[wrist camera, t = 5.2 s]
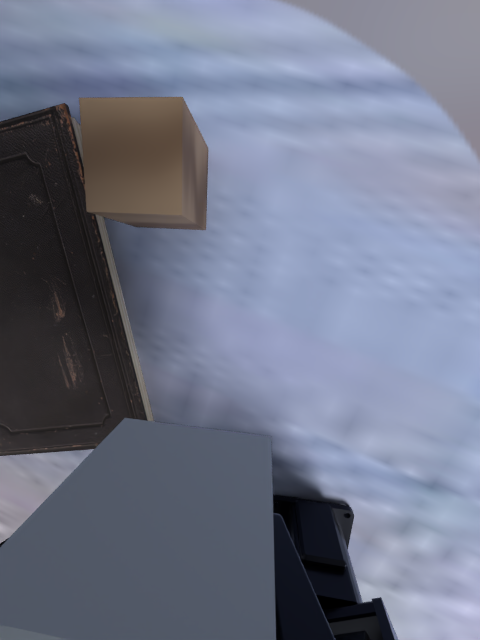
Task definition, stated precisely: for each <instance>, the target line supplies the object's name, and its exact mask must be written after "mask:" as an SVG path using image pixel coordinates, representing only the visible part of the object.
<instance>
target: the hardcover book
mask: <svg viewBox="0 0 480 640" xmlns="http://www.w3.org/2000/svg"><path fill="white" fill-rule="evenodd" d="M124 418H130V419H138V420H146V421H154V419H153V415H152V411H151V407H150V403H149V399H148V395H147V391H146V387H145V383H144V379H143V375H142V371H141V367H140V362H139V358H138V354H137V350H136V346H135V342H134V338H133V334H132V330H131V326H130V322H129V318H128V314H127V310H126V306H125V302H124V298H123V294H122V290H121V286H120V282H119V278H118V274H117V270H116V266H115V262H114V258H113V254H112V250H111V246H110V242H109V238H108V234H107V229H106V225H105V221H104V217H102V216H99V215H96V214H93V213H90V212H87V210H86V195H85V179H84V164H83V149H82V134H81V125H80V124H78V123H77V122H76V120H75V118H71V115H70V111H69V107H68V105H66V104H65V103H64V104H60V105H57V106H53V107H50V108H46V109H43V110H39V111H36V112H32V113H29V114H26V115H22V116H19V117H15V118H12V119H8V120H5V121H1V122H0V456H6V455H20V454H33V453H47V452H60V451H74V450H87V449H95V448H96V447H97V446H98V445H99V444H100V443H101V442H102V441H103V440H104V439H105V438H106V437H107V436H108V435H109V434H110V433H111V432H112V431H113V430H114V429H115V428H116V427H117V426H118V424H119V423H120V422H121V421H122V420H123V419H124Z"/></svg>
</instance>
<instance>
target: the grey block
mask: <svg viewBox="0 0 480 640" xmlns="http://www.w3.org/2000/svg"><path fill="white" fill-rule="evenodd" d="M0 640H276V615H275V572H274V528H273V484H272V440H271V436H265V435H257V434H249V433H241V432H233V431H225V430H217V429H209V428H201V427H194V426H186V425H178V424H170V423H162V422H154V421H146V420H138V419H130V418H124V419H123V420H122V421H121V422H120V423H119V424H118V426H117V427H116V428H115V429H114V430H113V431H112V432H111V433H110V434H109V435H108V436H107V437H106V438H105V439H104V440H103V441H102V442H101V443H100V444H99V445H98V446H97V447H96V448H95V449H94V450H93V451H92V453H91V454H90V455H89V456H88V457H87V458H86V459H85V460H84V461H83V462H82V463H81V464H80V465H79V466H78V467H77V468H76V469H75V470H74V471H73V472H72V473H71V474H70V475H69V476H68V477H67V478H66V479H65V481H64V482H63V483H62V484H61V485H60V486H59V487H58V488H57V489H56V490H55V491H54V492H53V493H52V494H51V495H50V496H49V497H48V498H47V499H46V500H45V501H44V502H43V503H42V504H41V505H40V506H39V508H38V509H37V510H36V511H35V512H34V513H33V514H32V515H31V516H30V517H29V518H28V519H27V520H26V521H25V522H24V523H23V524H22V525H21V526H20V527H19V528H18V529H17V530H16V531H15V532H14V533H13V535H12V536H11V537H10V538H9V539H8V540H7V541H6V542H5V543H4V544H3V545H2V546H1V547H0Z"/></svg>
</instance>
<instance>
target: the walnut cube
mask: <svg viewBox="0 0 480 640" xmlns="http://www.w3.org/2000/svg"><path fill="white" fill-rule="evenodd" d="M79 103H80V118H81V134H82V149H83V164H84V179H85V195H86V210H87V212H90V213H93V214H96V215H99V216H102V217H106V218H109V219H112V220H115V221H118V222H122V223H125V224H128V225H131V226H134V227H147V228H170V229H192V230H206V211H207V175H208V147H207V145H206V143H205V141H204V139H203V137H202V135H201V133H200V131H199V129H198V127H197V125H196V123H195V121H194V119H193V117H192V115H191V113H190V111H189V109H188V107H187V105H186V103H185V101H184V99H183V97H122V98H79Z"/></svg>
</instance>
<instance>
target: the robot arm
mask: <svg viewBox="0 0 480 640" xmlns="http://www.w3.org/2000/svg"><path fill="white" fill-rule="evenodd" d="M275 502H278V503H275ZM345 513H346V514H345ZM353 519H354V514H353V511H352V509H351V507H349V506H345V505H339V504H332V503H325V502H318V501H311V500H305V499H298V498H291V497H284V496H278V495H275V496H273V528H274V572H275V615H276V640H398V638H397V635H396V633H395V630H394V628H393V626H392V623H391V621H390V618H389V616H388V613H387V611H386V608H385V606H384V603H383V601H382V599H381V597H380V598H374V599H372V601H371V602H365V603H363V602H362V599H361V595H360V592H359V588H358V585H357V581H356V578H355V574H354V571H353V567H352V563H351V560H350V556H349V553H348V545H349V540H350V534H351V529H352V524H353ZM8 539H9V538H8ZM8 539H6V540H5V541H3V542H2V543H0V547H1V546H2V545H3V544H4V543H5V542H6V541H7V540H8Z"/></svg>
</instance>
